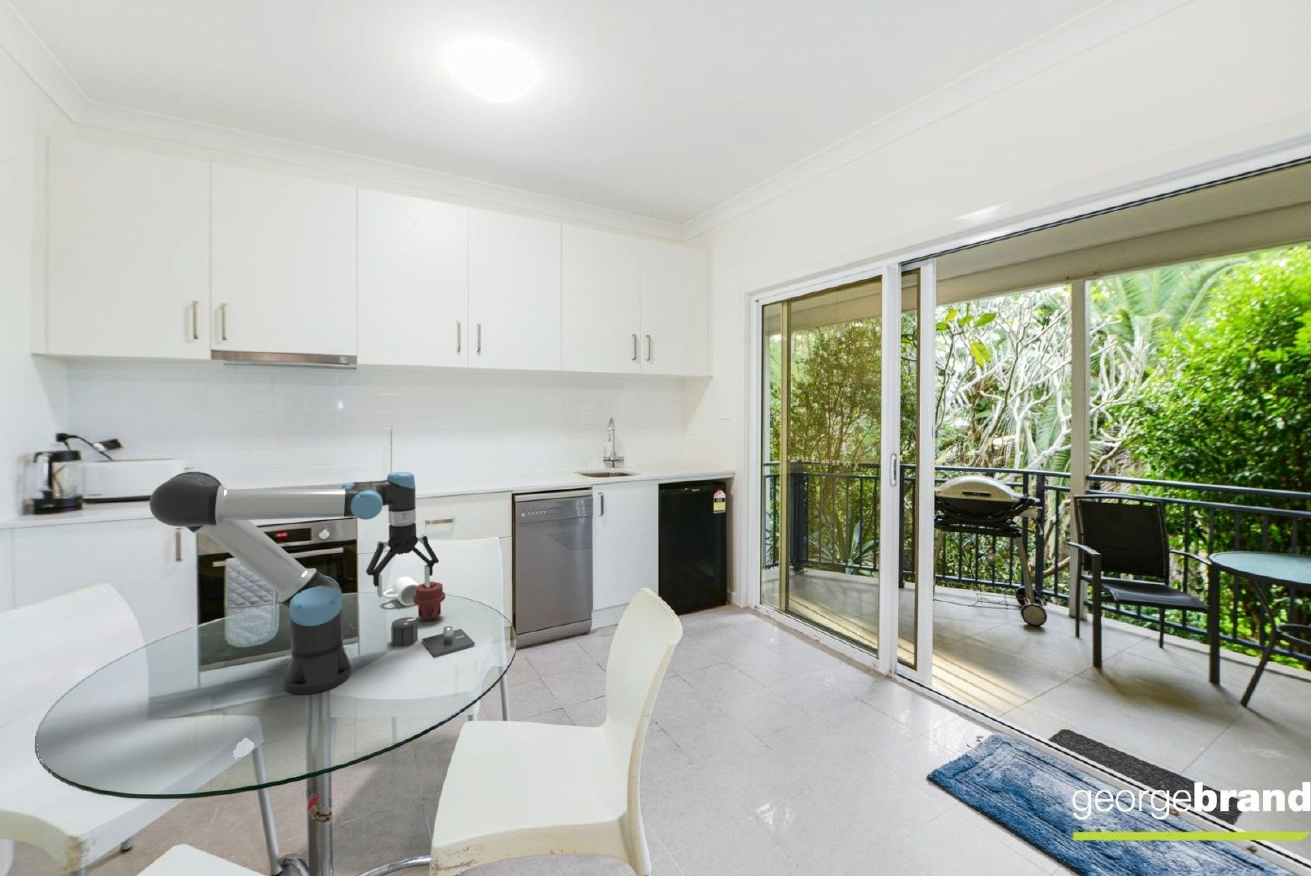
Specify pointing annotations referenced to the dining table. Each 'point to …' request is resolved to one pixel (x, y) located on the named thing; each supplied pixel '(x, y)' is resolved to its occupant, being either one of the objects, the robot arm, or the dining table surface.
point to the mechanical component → (429, 601)
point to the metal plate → (447, 641)
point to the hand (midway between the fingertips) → (404, 591)
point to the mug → (403, 591)
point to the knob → (404, 631)
